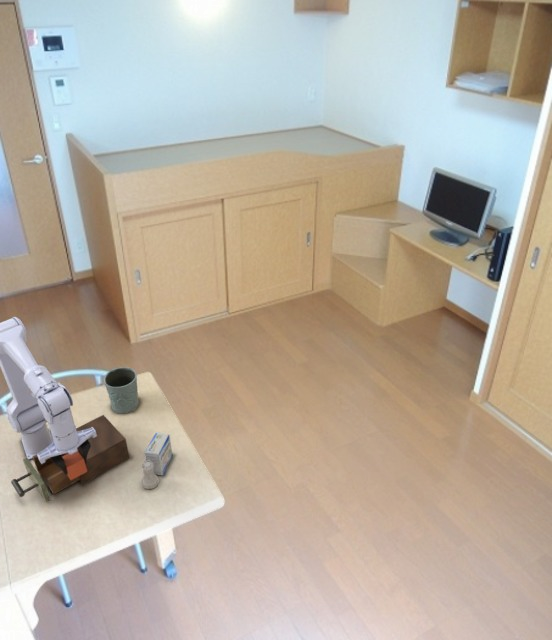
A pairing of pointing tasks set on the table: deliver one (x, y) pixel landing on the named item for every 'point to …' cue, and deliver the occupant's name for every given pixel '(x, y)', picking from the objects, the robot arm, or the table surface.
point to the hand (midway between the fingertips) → (74, 467)
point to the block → (74, 465)
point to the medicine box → (159, 452)
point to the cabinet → (103, 448)
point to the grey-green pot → (122, 389)
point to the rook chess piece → (149, 475)
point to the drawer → (44, 477)
